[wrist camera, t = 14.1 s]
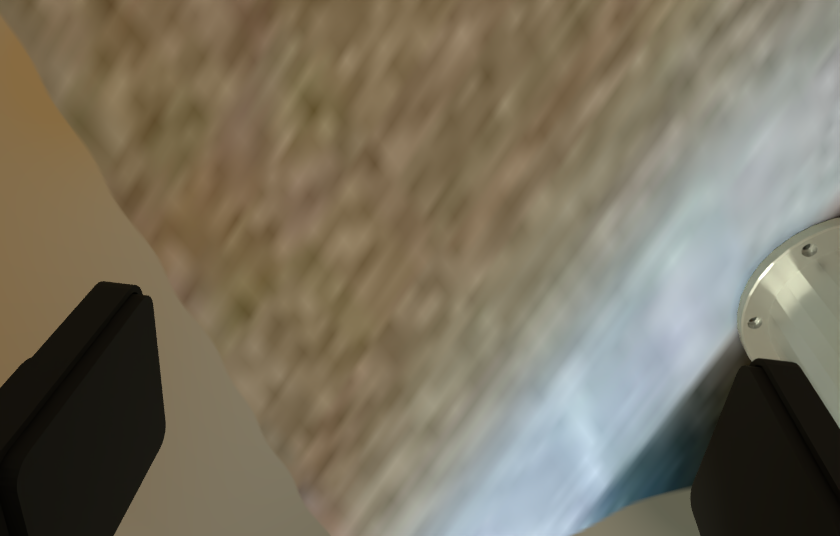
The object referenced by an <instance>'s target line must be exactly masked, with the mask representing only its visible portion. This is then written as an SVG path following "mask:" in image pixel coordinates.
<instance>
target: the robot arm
mask: <svg viewBox="0 0 840 536" xmlns="http://www.w3.org/2000/svg"><path fill="white" fill-rule="evenodd" d="M737 329H738V333H739V336H740V340H741V343H742V345H743V347H744V349H745V351H746V353H747V355H748V357H749V358H750V360H751V361H752V362H751V364H750V366H742V367H741V368H740V369H739V371H738V372H737V375H736V377H735V380H734V382H733V385H732V387H731V390H730V392H729V395H728V397H727V400H726V402H725V405H724V407H723V410H722V412H721V415H720V417H719V420H718V422H717V425H716V427H715V430H714V432H713V435H712V437H711V440H710V442H709V445H708V447H707V450H706V452H705V455H704V457H703V460H702V462H701V465H700V467H699V470H698V472H697V475H696V477H695V480H694V482H693V485H692V488H691V507H692V511H693V514H694V517H695V520H696V523H697V526H698V529H699V532H700V535H701V536H840V217H839V218H834V219H831V220H828V221H825V222H822V223H820V224H817V225H814V226H812V227H810V228H808V229H806V230H804V231H802V232H800V233H798V234H796V235H794V236H792V237H791V238H790V239H788V240H787V241H786V242H784V243H783V244H781V245H780V246H779V247H777V248H776V249H775V250H774V251H773V252H772V253H771V254H770V255H768V256H767V257H766V258H765V259H764V260H763V261H762V262H761V263H760V265H759V266H758V267H757V269H756V270H755V272H754V273H753V274H752V276H751V277H750V279H749V280H748V282H747V284H746V286H745V289H744V291H743V293H742V295H741V298H740V303H739V307H738V311H737ZM157 347H158V346H157V338H156V328H155V319H154V309H153V302H152V299H151V297H149V296H146V295H143V294H142V291H141V289H140V287H138V286H137V285H130V284H122V283H113V282H105V281H103V282H99V283H98V284H96V285H95V286H94V288H93V289H92V290H91V291H90V292H89V293H88V294H87V296H86V297H85V298H84V299H83V300H82V301H81V302H80V304H79V305H78V306H77V307H76V308H75V309H74V310H73V311H72V312H71V314H70V315H69V316H68V317H67V318H66V319H65V321H64V322H63V323H62V324H61V325H60V326H59V327H58V328H57V330H56V331H55V332H54V333H53V334H52V335H51V336H50V337H49V339H48V340H47V341H46V342H45V343H44V344H43V345H42V347H41V348H40V349H39V350H38V351H37V352H36V353H35V354H34V356H33V357H32V358H29V359H27V360H26V361H25V362H24V363H23V364H21V365H20V366H19V367H18V369H17V370H16V371H15V372H14V373H13V374H12V375H11V376H10V378H9V379H8V380H7V381H6V382H5V383H4V384H3V386H2V387H1V388H0V536H113V535H114V534H115V532H116V530H117V528H118V526H119V524H120V523H121V520H122V519H123V517H124V515H125V513H126V511H127V509H128V508H129V506H130V504H131V502H132V500H133V498H134V496H135V494H136V492H137V491H138V489H139V487H140V485H141V483H142V481H143V479H144V477H145V475H146V473H147V472H148V470H149V468H150V466H151V464H152V462H153V460H154V459H155V456H156V455H157V453H158V451H159V449H160V447H161V445H162V442H163V439H164V434H165V414H164V403H163V394H162V384H161V375H160V365H159V356H158V348H157Z"/></svg>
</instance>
